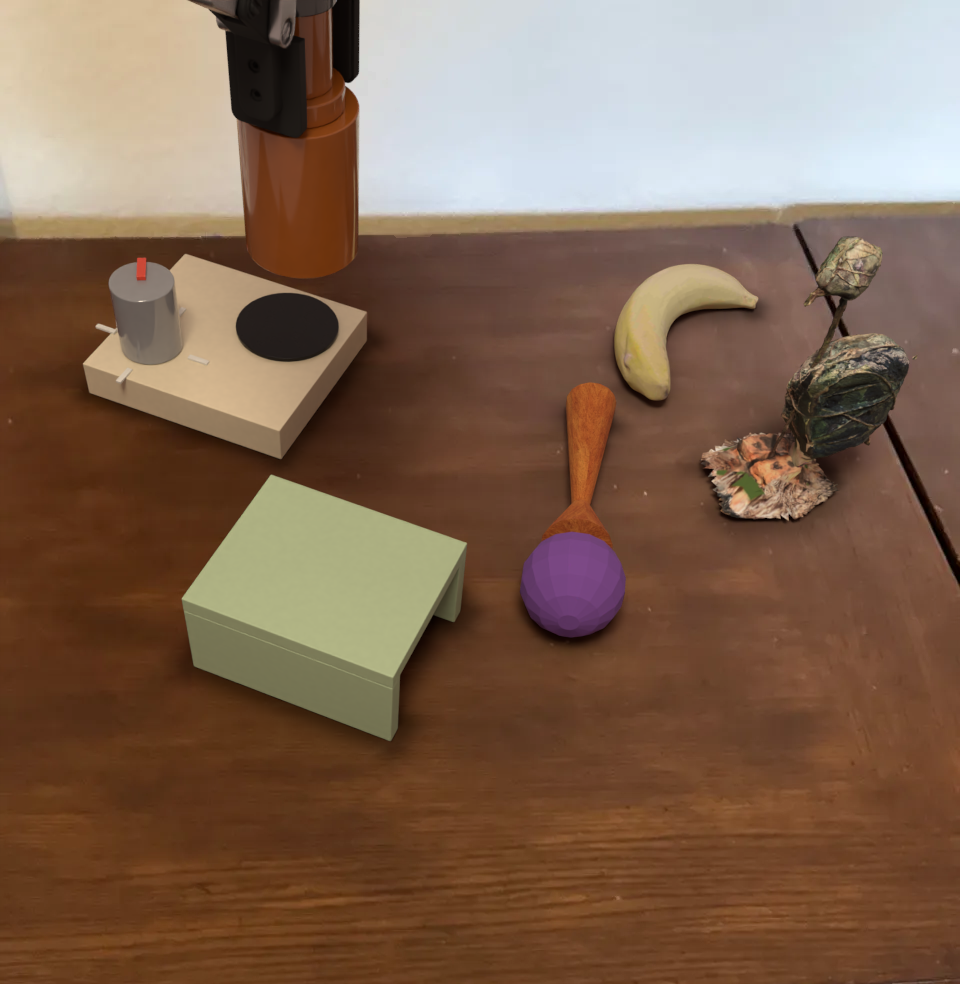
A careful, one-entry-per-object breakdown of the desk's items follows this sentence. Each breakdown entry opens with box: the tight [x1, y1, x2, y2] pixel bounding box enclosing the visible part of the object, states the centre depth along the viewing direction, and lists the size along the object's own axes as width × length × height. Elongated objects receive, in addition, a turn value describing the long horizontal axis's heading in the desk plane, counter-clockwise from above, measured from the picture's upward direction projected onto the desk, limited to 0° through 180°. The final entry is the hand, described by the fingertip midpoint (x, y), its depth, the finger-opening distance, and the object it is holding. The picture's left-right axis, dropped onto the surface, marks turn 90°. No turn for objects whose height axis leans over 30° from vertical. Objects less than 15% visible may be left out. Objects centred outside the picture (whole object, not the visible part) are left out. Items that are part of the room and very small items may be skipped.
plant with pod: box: [699, 235, 918, 522], centre depth 74 cm, size 8×11×20 cm
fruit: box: [613, 263, 759, 401], centre depth 89 cm, size 7×15×3 cm, turn 146°
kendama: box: [519, 381, 627, 638], centre depth 76 cm, size 6×6×20 cm
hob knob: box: [107, 257, 183, 365], centre depth 80 cm, size 4×4×5 cm
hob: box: [82, 253, 368, 460], centre depth 84 cm, size 15×14×3 cm
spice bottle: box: [236, 0, 360, 280], centre depth 54 cm, size 5×5×13 cm
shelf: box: [181, 474, 468, 742], centre depth 69 cm, size 12×10×6 cm
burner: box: [236, 293, 339, 362], centre depth 84 cm, size 7×7×1 cm
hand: (297, 94), depth 53 cm, fingers closed on spice bottle, 4 cm apart
